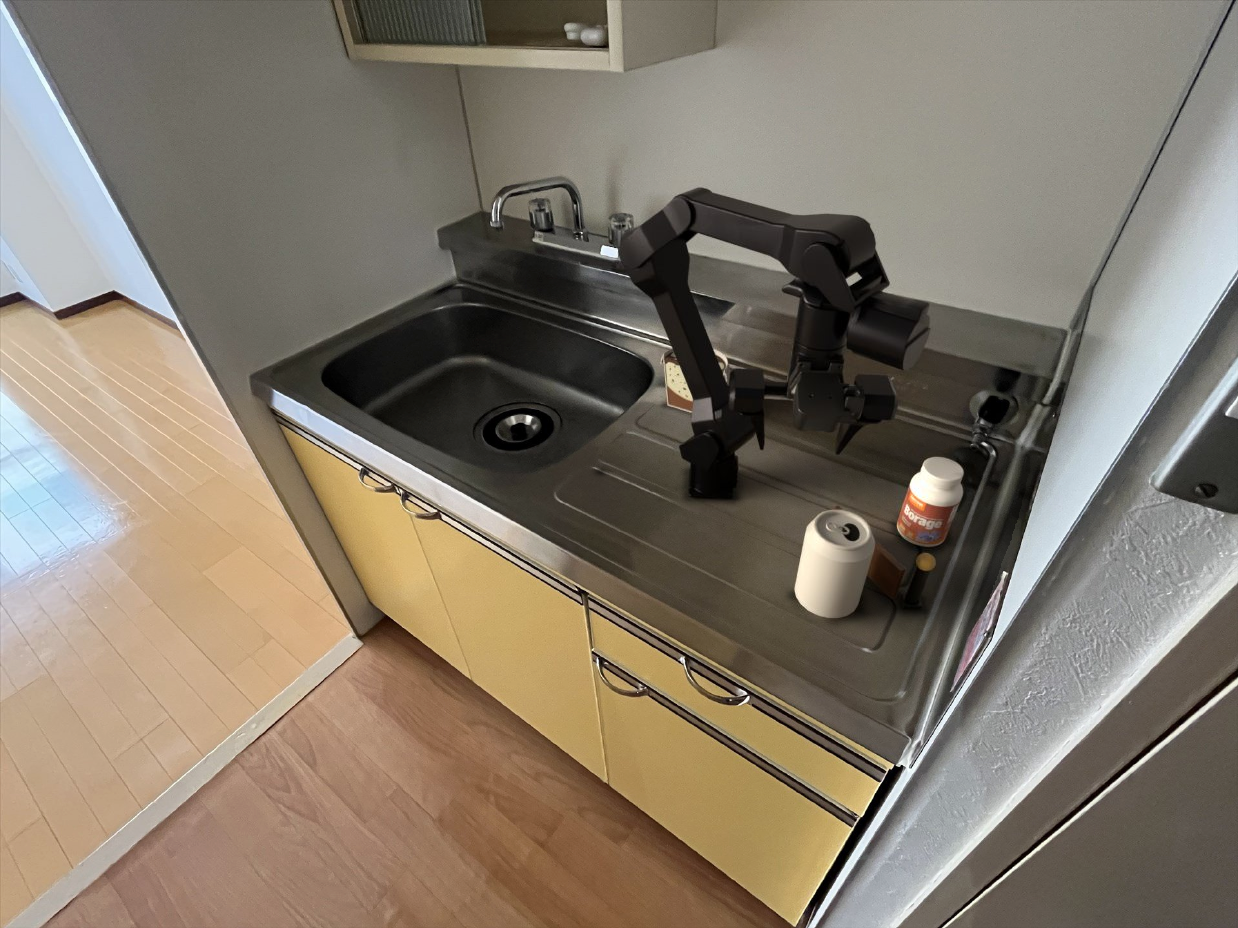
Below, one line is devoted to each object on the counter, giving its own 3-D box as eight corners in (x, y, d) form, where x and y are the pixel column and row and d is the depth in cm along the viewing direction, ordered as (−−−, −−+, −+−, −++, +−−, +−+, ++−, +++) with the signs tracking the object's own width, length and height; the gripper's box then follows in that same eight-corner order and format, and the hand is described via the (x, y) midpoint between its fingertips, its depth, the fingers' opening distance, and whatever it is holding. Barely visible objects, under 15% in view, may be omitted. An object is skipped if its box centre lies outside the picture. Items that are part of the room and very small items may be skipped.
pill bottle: (888, 534, 86) (908, 470, 79) (906, 510, 90) (926, 446, 83) (935, 555, 83) (960, 490, 76) (952, 529, 86) (977, 465, 80)
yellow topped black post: (903, 609, 76) (921, 561, 71) (899, 596, 78) (916, 548, 73) (921, 610, 76) (940, 562, 71) (917, 597, 78) (935, 549, 73)
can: (859, 627, 74) (881, 555, 67) (793, 617, 76) (807, 546, 68) (855, 579, 80) (875, 508, 73) (793, 571, 82) (807, 500, 74)
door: (827, 534, 86) (833, 507, 83) (836, 531, 86) (843, 503, 83) (891, 599, 77) (900, 571, 74) (901, 595, 77) (911, 566, 74)
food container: (738, 405, 112) (743, 354, 106) (723, 422, 108) (727, 370, 102) (676, 387, 118) (677, 337, 111) (660, 403, 114) (660, 352, 107)
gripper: (734, 371, 66) (723, 487, 75) (926, 380, 63) (888, 498, 73) (734, 322, 74) (723, 431, 84) (902, 328, 72) (872, 440, 82)
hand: (798, 450), depth 80 cm, fingers open, 9 cm apart
